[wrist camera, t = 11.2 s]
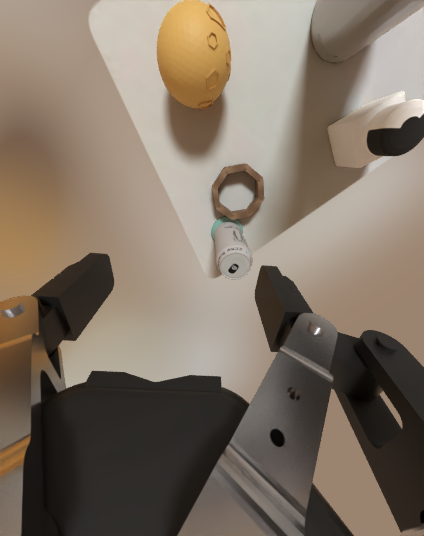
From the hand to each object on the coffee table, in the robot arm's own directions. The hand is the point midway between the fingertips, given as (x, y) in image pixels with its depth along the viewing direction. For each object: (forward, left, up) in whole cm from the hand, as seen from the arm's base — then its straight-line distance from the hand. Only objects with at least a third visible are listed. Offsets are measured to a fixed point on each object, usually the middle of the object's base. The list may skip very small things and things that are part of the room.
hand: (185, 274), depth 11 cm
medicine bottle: (-22, +17, -33) cm, 43 cm away
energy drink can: (+5, +10, -33) cm, 35 cm away
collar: (-3, +6, -33) cm, 34 cm away
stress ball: (-13, -10, -33) cm, 37 cm away
